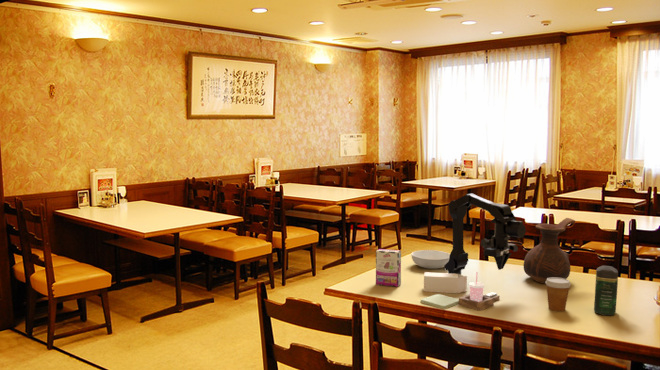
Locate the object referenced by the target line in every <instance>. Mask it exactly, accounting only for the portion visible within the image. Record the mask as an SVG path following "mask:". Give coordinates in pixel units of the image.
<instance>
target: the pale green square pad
mask: <svg viewBox="0 0 660 370" xmlns="http://www.w3.org/2000/svg"><path fill="white" fill-rule="evenodd" d="M420 303H423V304H425V305H427V306H428V305H429V306H432V307H435V308H439V309H443V310H445V309H448V308H450V307H453V306H456V305H459V298H455V297H451V296H447V295H443V294H440V293H436V294H432V295H430V296H428V297H424V298H421V299H420Z"/></svg>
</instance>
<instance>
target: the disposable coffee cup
mask: <svg viewBox="0 0 660 370" xmlns="http://www.w3.org/2000/svg"><path fill="white" fill-rule="evenodd" d="M544 284H545V285H546V295H547V304H548V307H547V308H548V309H549V310H550V311H554V312H564V311H566V306H567V301H568V297H569V291H570V287H571V281H570V280H569V279H568V278H567V279H564V278H557V277H551V278H547V280H546V282H545V283H544Z"/></svg>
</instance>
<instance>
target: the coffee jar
mask: <svg viewBox="0 0 660 370" xmlns="http://www.w3.org/2000/svg"><path fill="white" fill-rule="evenodd" d="M595 272H596V273H595V288H594V303H593V304H594V305H593V311H594V312H595V314H599V315H601V316H606V315H607V316H614V315H616V313H617V312H616V311H617V298H618V282H619V271H618V269H617V268H615V267H614V266H612V265H611V266H610V265H602V264H601V266H599V267H597V268H596V270H595Z"/></svg>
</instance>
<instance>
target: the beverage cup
mask: <svg viewBox="0 0 660 370" xmlns="http://www.w3.org/2000/svg"><path fill="white" fill-rule="evenodd" d="M468 286H469V294H470V300H474V301H477V302H480V301H483V300H482V298H483V295H484V288H485V283H483V282H479V281H478V271H476V274H475V282H474V281H473V282H471V281H470V282H469V283H468Z"/></svg>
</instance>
